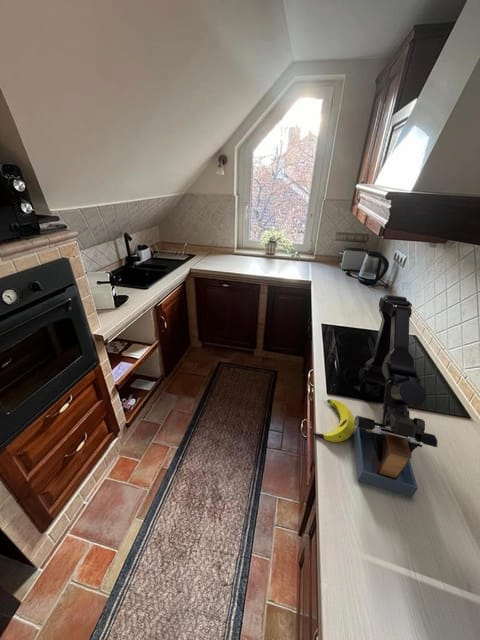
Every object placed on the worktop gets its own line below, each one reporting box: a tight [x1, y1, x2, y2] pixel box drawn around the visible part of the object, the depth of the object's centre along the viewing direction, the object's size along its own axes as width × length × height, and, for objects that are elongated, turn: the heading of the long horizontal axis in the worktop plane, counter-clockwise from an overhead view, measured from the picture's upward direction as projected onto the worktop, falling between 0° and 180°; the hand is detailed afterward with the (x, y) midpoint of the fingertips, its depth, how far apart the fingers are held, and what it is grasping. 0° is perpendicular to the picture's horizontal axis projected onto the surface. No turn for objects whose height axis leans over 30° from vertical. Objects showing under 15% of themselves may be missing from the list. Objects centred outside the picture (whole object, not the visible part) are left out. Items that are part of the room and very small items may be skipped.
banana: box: [312, 399, 356, 443], centre depth 86 cm, size 5×17×15 cm
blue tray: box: [352, 426, 419, 499], centre depth 73 cm, size 15×13×5 cm
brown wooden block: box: [371, 433, 413, 480], centre depth 67 cm, size 5×5×13 cm
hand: (390, 464), depth 67 cm, fingers closed on brown wooden block, 5 cm apart
